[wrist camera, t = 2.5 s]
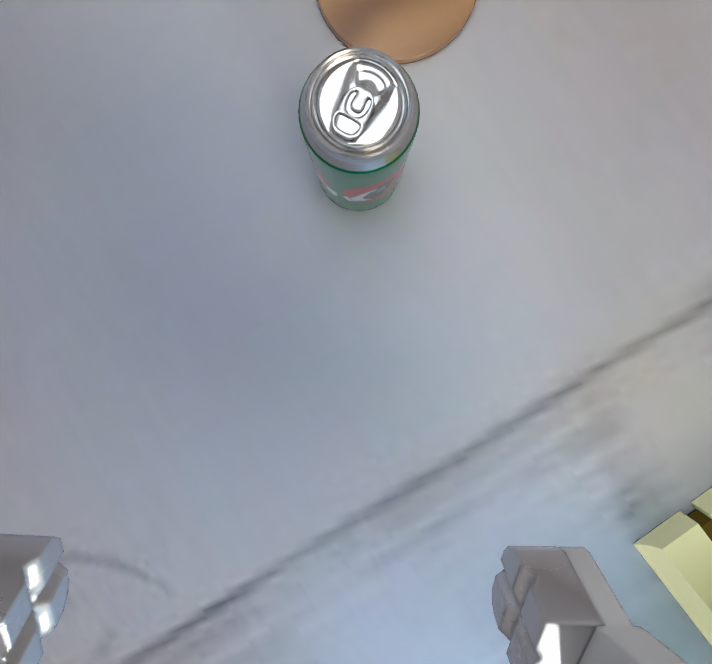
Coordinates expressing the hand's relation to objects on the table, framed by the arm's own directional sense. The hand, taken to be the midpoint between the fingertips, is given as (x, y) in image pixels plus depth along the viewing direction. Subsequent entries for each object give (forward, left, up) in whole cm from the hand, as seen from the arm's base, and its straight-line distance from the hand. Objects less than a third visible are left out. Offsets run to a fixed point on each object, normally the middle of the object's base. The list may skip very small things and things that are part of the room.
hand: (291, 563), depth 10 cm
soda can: (-5, +11, -24) cm, 27 cm away
